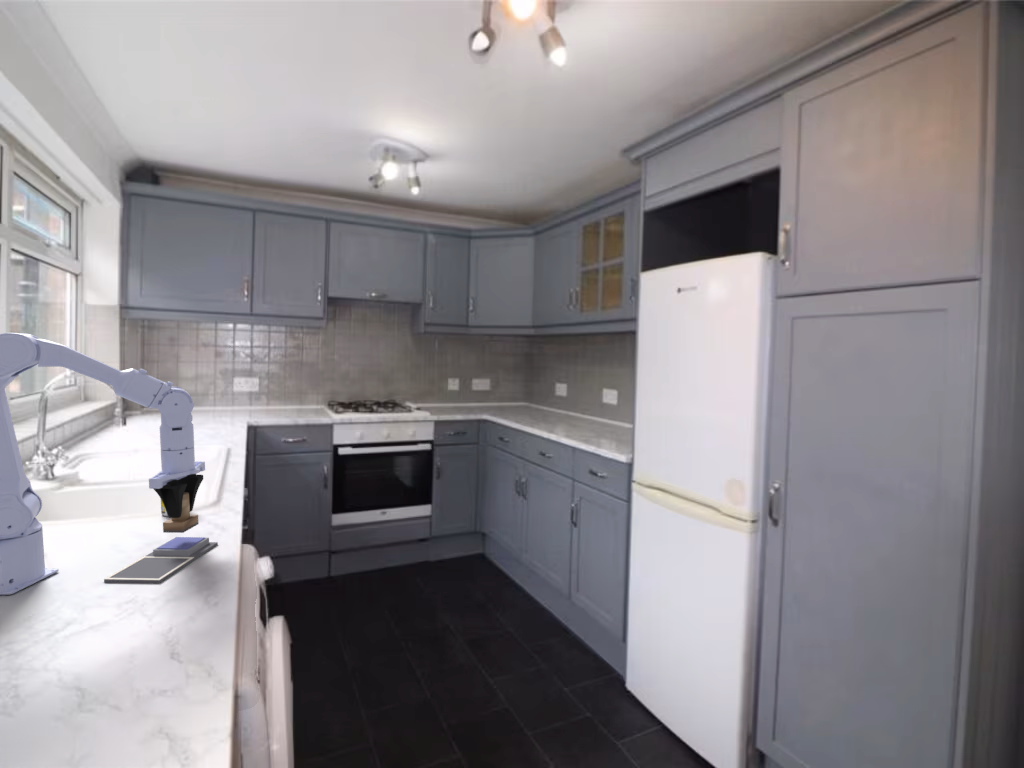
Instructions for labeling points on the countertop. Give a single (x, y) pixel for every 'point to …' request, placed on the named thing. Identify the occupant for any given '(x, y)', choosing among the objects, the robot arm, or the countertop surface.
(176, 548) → the stamp mat
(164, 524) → the stamp
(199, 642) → the countertop surface
